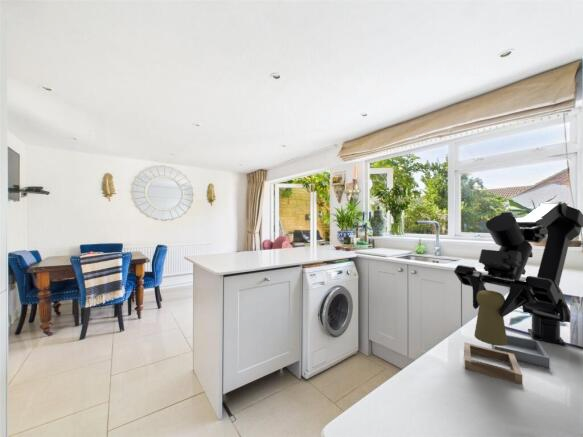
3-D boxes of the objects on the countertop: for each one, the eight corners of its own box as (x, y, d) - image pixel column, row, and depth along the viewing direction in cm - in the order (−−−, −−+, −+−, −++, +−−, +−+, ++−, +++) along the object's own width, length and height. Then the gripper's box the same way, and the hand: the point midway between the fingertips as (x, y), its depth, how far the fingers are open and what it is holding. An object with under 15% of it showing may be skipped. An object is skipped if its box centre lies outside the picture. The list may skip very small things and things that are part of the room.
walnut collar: (464, 350, 64) (464, 342, 64) (513, 362, 59) (513, 353, 59) (465, 368, 56) (465, 360, 56) (522, 384, 51) (522, 375, 51)
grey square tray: (490, 340, 70) (490, 331, 70) (538, 350, 64) (538, 340, 64) (494, 356, 62) (494, 345, 62) (549, 369, 56) (549, 358, 56)
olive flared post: (514, 347, 54) (514, 296, 54) (482, 344, 55) (482, 294, 55) (497, 334, 60) (497, 288, 60) (469, 331, 61) (469, 287, 61)
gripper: (458, 234, 68) (432, 280, 63) (553, 240, 51) (529, 303, 46) (474, 261, 71) (451, 306, 66) (568, 274, 55) (547, 336, 50)
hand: (487, 311), depth 57 cm, fingers closed on olive flared post, 5 cm apart
